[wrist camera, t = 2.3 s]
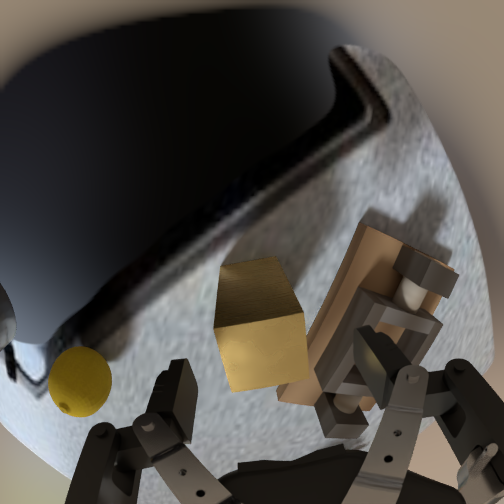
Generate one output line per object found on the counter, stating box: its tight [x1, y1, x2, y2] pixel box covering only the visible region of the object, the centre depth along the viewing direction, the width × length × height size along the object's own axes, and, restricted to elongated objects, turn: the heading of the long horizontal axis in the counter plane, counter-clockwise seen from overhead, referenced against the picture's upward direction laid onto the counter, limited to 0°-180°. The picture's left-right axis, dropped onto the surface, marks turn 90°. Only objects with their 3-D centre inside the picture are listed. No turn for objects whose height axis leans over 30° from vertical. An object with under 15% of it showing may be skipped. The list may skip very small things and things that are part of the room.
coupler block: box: [213, 256, 310, 393], centre depth 18 cm, size 4×4×9 cm
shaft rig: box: [276, 222, 459, 439], centre depth 21 cm, size 11×17×6 cm, turn 160°
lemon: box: [48, 346, 112, 417], centre depth 19 cm, size 6×6×8 cm
